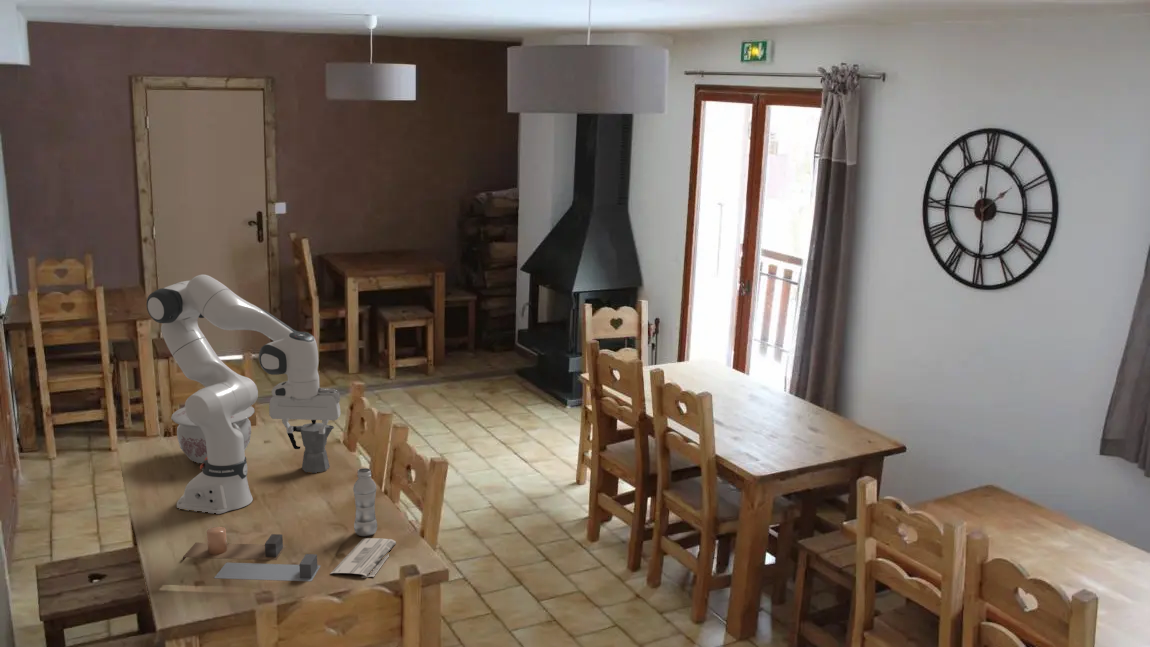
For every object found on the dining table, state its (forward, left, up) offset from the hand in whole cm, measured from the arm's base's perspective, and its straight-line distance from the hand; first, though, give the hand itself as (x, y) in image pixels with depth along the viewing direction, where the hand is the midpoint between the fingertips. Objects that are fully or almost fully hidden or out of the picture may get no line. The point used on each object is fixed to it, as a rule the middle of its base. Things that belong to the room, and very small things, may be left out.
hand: (306, 433), depth 299 cm
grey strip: (-2, -32, -29) cm, 44 cm away
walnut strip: (-15, -21, -29) cm, 39 cm away
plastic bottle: (+18, -5, -29) cm, 35 cm away
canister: (-20, -21, -28) cm, 40 cm away
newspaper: (+22, -20, -30) cm, 42 cm away
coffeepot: (-12, +45, -29) cm, 55 cm away
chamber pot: (-48, +52, -29) cm, 77 cm away
